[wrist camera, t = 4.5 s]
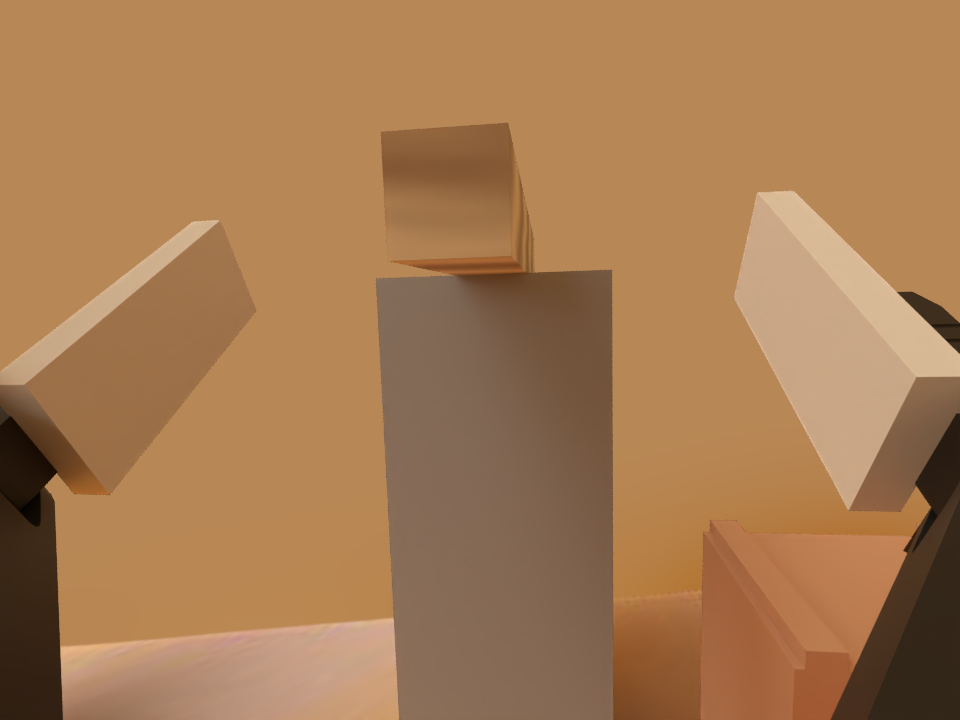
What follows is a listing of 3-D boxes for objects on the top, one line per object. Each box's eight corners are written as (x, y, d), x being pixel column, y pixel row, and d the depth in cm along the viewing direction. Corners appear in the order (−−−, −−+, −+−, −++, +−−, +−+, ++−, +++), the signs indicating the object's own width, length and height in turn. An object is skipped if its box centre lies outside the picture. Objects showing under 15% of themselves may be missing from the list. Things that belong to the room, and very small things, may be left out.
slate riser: (613, 909, 26) (611, 269, 22) (408, 887, 27) (376, 278, 23) (587, 675, 41) (584, 280, 38) (459, 668, 43) (444, 285, 39)
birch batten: (511, 255, 13) (507, 123, 12) (387, 260, 13) (380, 132, 13) (534, 282, 38) (533, 239, 38) (492, 283, 39) (491, 240, 38)
